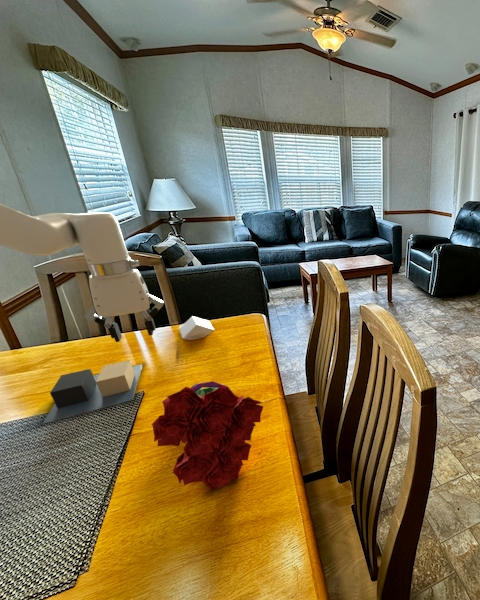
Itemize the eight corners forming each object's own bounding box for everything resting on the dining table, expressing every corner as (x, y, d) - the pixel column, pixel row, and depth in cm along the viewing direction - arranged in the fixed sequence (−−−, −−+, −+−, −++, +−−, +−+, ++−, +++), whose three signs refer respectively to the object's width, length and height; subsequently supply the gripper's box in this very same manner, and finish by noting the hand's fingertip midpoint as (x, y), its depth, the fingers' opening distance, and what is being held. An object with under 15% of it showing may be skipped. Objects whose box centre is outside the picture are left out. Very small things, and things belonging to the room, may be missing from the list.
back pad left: (57, 408, 76) (49, 392, 74) (68, 390, 82) (61, 375, 81) (88, 400, 78) (81, 385, 77) (96, 383, 85) (90, 368, 83)
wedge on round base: (216, 338, 109) (208, 325, 118) (212, 320, 106) (204, 308, 116) (185, 347, 104) (179, 332, 113) (180, 328, 101) (174, 315, 111)
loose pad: (102, 397, 80) (95, 381, 78) (109, 380, 86) (103, 365, 84) (130, 390, 82) (124, 375, 80) (135, 374, 89) (129, 359, 87)
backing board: (43, 427, 72) (41, 424, 71) (69, 384, 86) (68, 381, 86) (134, 403, 79) (132, 399, 79) (143, 367, 94) (142, 364, 93)
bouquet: (234, 411, 85) (280, 460, 63) (158, 446, 75) (181, 519, 52) (213, 341, 81) (254, 367, 59) (130, 367, 70) (141, 410, 48)
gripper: (158, 259, 83) (176, 323, 89) (67, 269, 75) (95, 338, 81) (155, 266, 77) (175, 334, 83) (55, 278, 69) (86, 352, 75)
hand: (135, 335), depth 82 cm, fingers open, 6 cm apart
